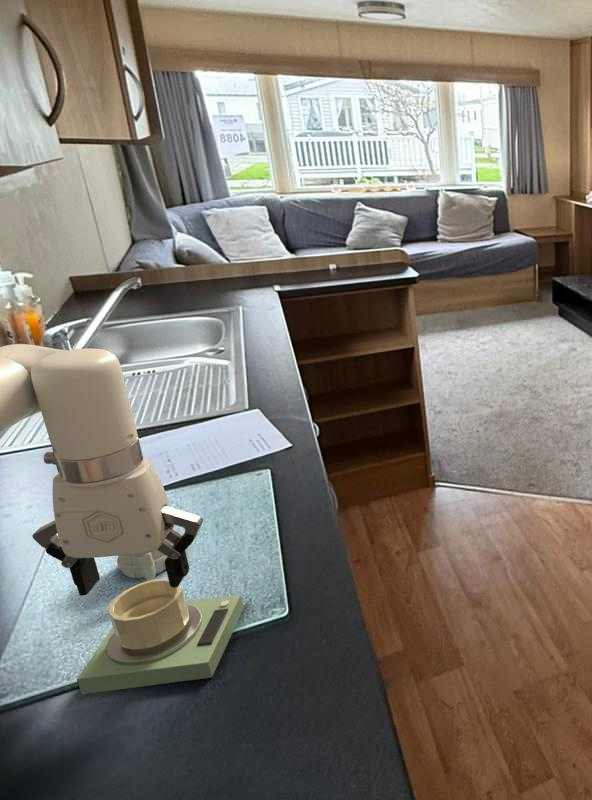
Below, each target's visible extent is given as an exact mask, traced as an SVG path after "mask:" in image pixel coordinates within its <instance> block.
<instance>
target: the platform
mask: <svg viewBox="0 0 592 800" xmlns="http://www.w3.org/2000/svg"><path fill="white" fill-rule="evenodd" d="M186 604H187V603H186ZM187 608H188V611H189V620H188V622H187V623H186V625H185V627H184V628H183V629H182V630H181V631H180V632H178V633H177V634H176V635H175V636H174V637H172V638H171V639H169V640H168V641H166V642H164V643H162V644H160V645H157V646H154V647H151V648H146V649H134V650H133V649H128V648H124V647H123V646H122V645H121V644H120V643H118V640H117V637H116V634H115V632H114V633H113V634H112V635H111V637H110V639H109V640H108V643H107V647H106V649H107V653H108V656H109V658H110V659H111V660H112V661H113V662H115V663H117V664H121V665H140V664H145V663H150V662H153V661H156V660H159V659H161V658H164V657H166V656H168V655H170V654H172V653H174V652H176V651H177V650H179V649H180V648H182V647H183V646H184V645H186V644H187V643H188V642H189V641H190V640H191V639H192V638H193V637H194V636H195V635H196V634H197V632H198V631H199V629H200V627H201V624H202V616H201V612H200V610H199V609H198V608H197V607H195V606H193V605H191V604H187Z"/></svg>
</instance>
